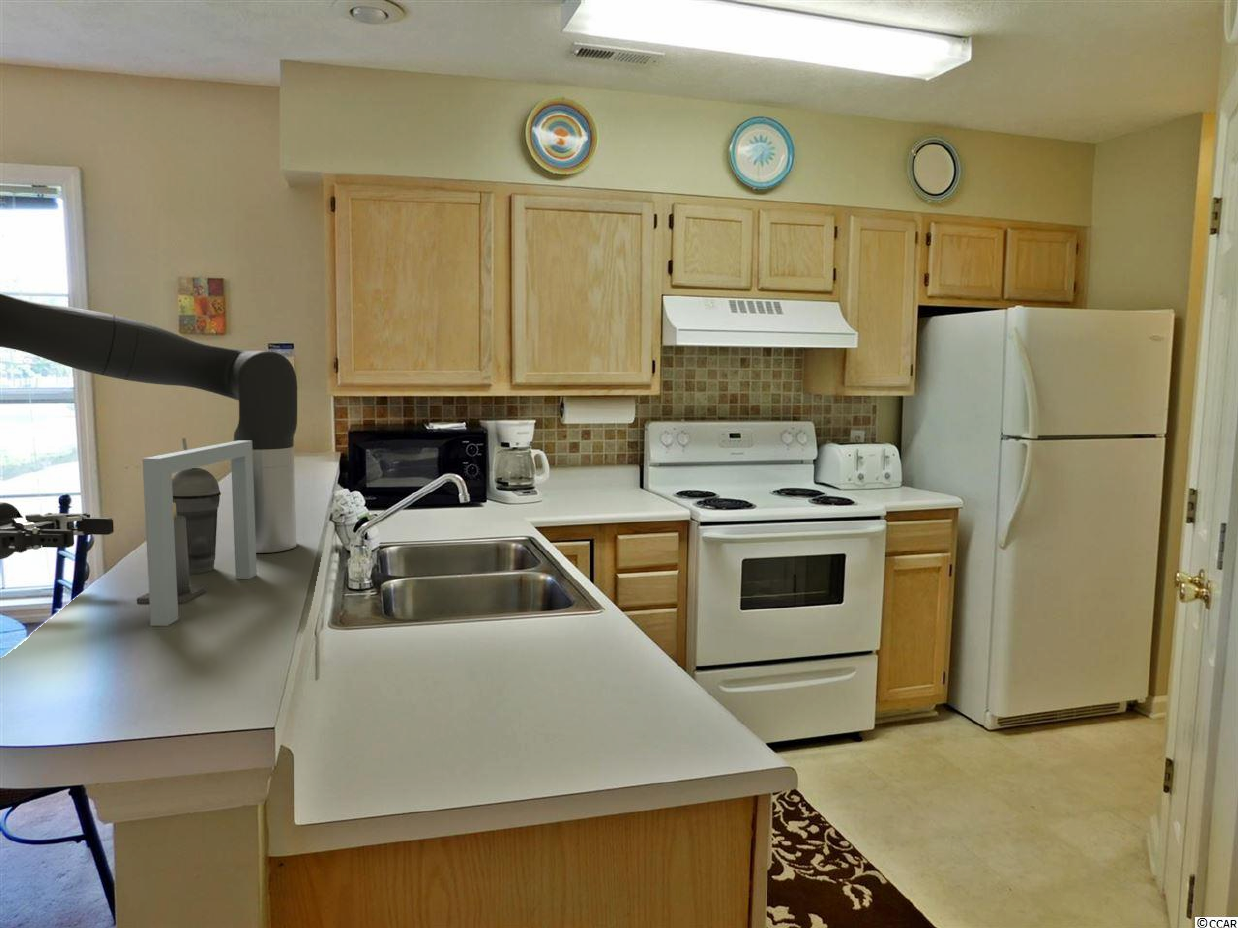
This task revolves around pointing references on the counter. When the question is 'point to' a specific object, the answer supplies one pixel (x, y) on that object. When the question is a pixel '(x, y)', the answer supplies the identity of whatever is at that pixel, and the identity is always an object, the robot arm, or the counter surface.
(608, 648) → the counter surface
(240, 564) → the rectangular arch frame
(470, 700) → the counter surface
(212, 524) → the beverage cup
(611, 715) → the counter surface
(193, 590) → the mat
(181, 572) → the bottle
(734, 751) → the counter surface
